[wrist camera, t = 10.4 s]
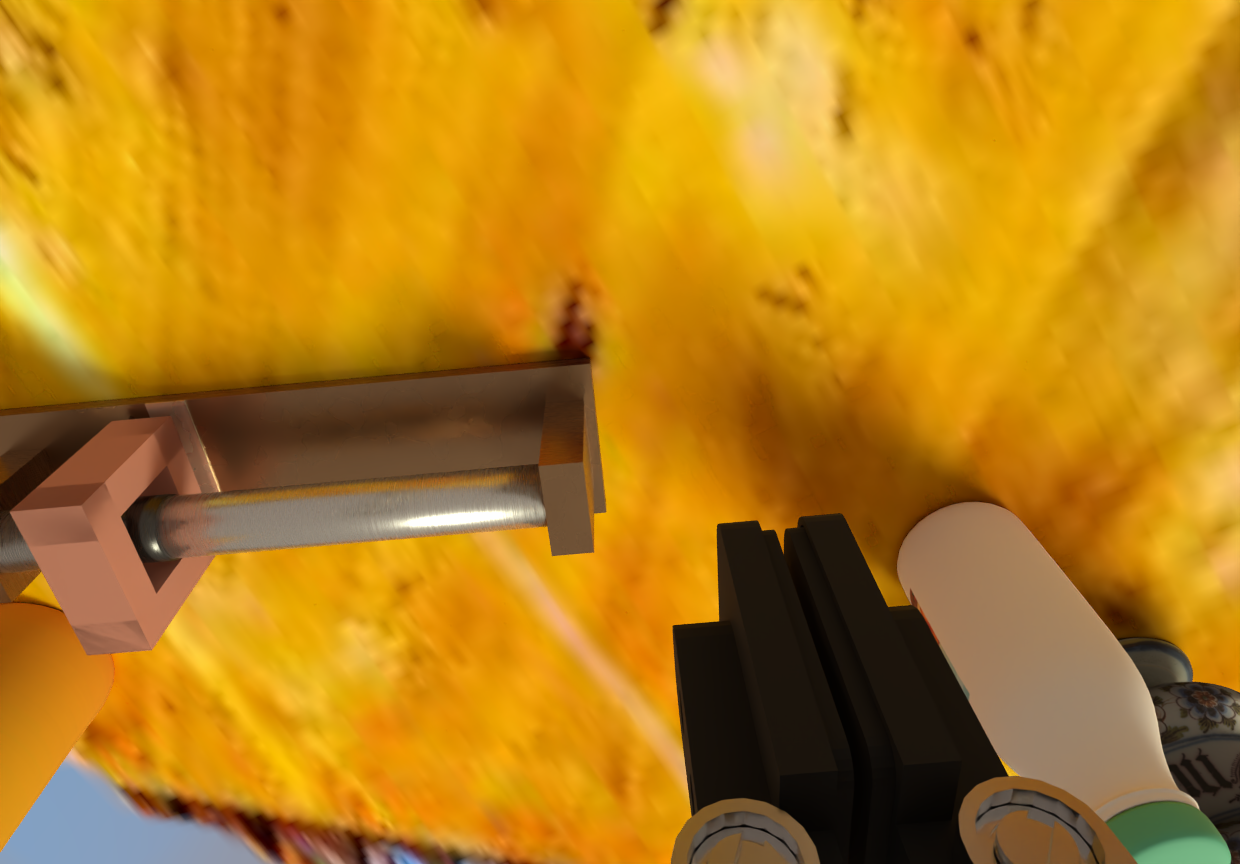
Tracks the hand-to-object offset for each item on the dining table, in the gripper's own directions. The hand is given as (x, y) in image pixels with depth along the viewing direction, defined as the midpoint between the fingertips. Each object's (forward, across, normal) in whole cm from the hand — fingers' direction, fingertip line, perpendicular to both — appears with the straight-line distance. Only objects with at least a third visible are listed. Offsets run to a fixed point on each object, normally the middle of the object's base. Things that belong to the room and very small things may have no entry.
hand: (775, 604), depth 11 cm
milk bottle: (+29, -17, +23) cm, 41 cm away
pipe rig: (+29, +19, +13) cm, 37 cm away
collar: (+28, +26, +13) cm, 40 cm away
